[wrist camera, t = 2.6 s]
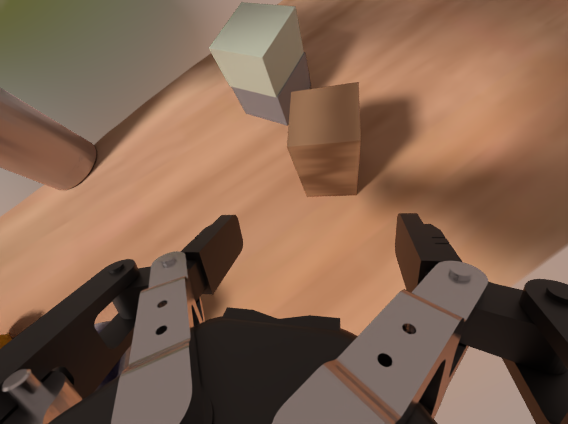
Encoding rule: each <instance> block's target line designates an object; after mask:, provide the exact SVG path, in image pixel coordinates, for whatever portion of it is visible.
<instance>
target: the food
mask: <svg viewBox="0 0 568 424" xmlns="http://www.w3.org/2000/svg"><path fill="white" fill-rule="evenodd" d="M11 340H12V338H11V336H10V334H9V333H8V334H5V335H0V349H1V348H2V347H3V346H5V345H6V344H7V343H8V342H10V341H11Z"/></svg>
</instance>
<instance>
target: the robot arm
mask: <svg viewBox="0 0 568 424" xmlns="http://www.w3.org/2000/svg"><path fill="white" fill-rule="evenodd" d="M95 159H96V149H95V147H94V145H93V144H92V143H90V142H89V141H87V140H86V139H84V138H82V137H81V136H79V135H77V134H76V133H74V132H72V131H71V130H69V129H67V128H66V127H64V126H63V125H61V124H59V123H58V122H56V121H54V120H53V119H51V118H49V117H48V116H46V115H45V114H43V113H41V112H40V111H38V110H36V109H34V108H33V107H31V106H30V105H28V104H26V103H25V102H23V101H21V100H20V99H18V98H17V97H15V96H13V95H12V94H10V93H9V92H7V91H5V90H4V89H2V88H0V168H3V169H5V170H8V171H11V172H13V173H16V174H19V175H21V176H24V177H26V178H29V179H32V180H34V181H37V182H39V183H42V184H45V185H47V186H50V187H53V188H55V189H58V190H66V189H70V188H72V187H74V186H76V185H77V184H79V183H80V182H81V181H82V180H83V179H84V178H85V177H86V176H87V175H88V174H89V172H90V171H91V169H92V167H93V165H94V162H95ZM242 248H243V239H242V234H241V230H240V226H239V221H238V218H237V216H236V215H221V216H220V217H219V218H218V219H217V220H216V221H215V222H214V223H213V224H212V225H210V226H208V227H206V228H205V229H204V230H202V231H201V232H200V233H199V235H197V236H196V237H195V239H193V240H192V241H191V242H190V243H189V244H188V245H187V246H186V247H185V248H184V249H183V250H182V251H181V252H171V253H167V254H165V255H162V256H161V257H159V258H157V259H156V260H155V261H154V262H153V263H152V265H151V267H145V268H139V269H138V268H137V265H136V263H135V261H134V260H131V259H126V260H121V261H118V262H115V263H113V264H111V265H109V266H107V267H106V268H104V269H103V270H102V271H100V272H99V273H98V274H96V275H95V276H94V277H93V278H91V279H90V280H89V281H87V282H86V283H85V284H83V285H82V286H81V287H80V288H78V289H77V290H76V291H74V292H73V293H72V294H71V295H69V296H68V297H67V298H65V299H64V300H63V301H61V302H60V303H59V304H58V305H56V306H55V307H54V308H52V309H51V310H50V311H49V312H47V313H46V314H45V315H43V316H42V317H41V318H39V319H38V320H37V321H36V322H34V323H33V324H32V325H30V326H29V327H28V328H27V329H25V330H24V331H23V332H21V333H20V334H19V335H17V336H16V337H15V338H14V339H12V340H11V341H10V342H8V343H7V344H6V345H5V346H3V347H2V348H1V349H0V424H437V422H436V421H435V420H434V418H435V416H436V414H437V411H438V409H439V407H440V405H441V402H442V400H443V397H444V394H445V392H446V390H447V387H448V385H449V383H450V381H451V380H452V378H453V376H454V374H455V372H456V370H457V368H458V366H459V364H460V362H461V361H462V359H463V357H464V355H465V353H466V351H467V349H468V347H469V346H470V347H473V348H476V349H479V350H482V351H484V352H487V353H490V354H493V355H496V356H499V357H501V358H502V359H503V361H504V363H505V365H506V367H507V369H508V370H509V372H510V374H511V376H512V378H513V380H514V382H515V384H516V386H517V388H518V390H519V392H520V394H521V395H522V398H523V399H524V401H525V403H526V405H527V407H528V409H529V411H530V413H531V415H532V416H533V419H534V421H535V422H536V424H568V285H567V284H564V283H561V282H557V281H553V280H546V279H534V280H530V281H528V282H527V283H526V284H525V287H524V289H523V290H519V289H515V288H511V287H506V286H502V285H498V284H494V283H491V282H488V278H487V276H486V275H485V274H484V273H483V272H482V271H481V270H479V269H478V268H476V267H474V266H472V265H469V264H466V263H463V262H462V261H461V259H460V258H459V256H458V255H457V253H456V252H455V250H454V249H453V248H452V246H451V245H450V244H449V242H448V240H447V239H446V238H445V236H444V235H443V233H442V232H441V230H439V229H438V228H436V227H435V226H433V225H431V224H423V222H422V221H421V219H420V217H419V216H418V214H417V213H402V214H398V217H397V227H396V239H395V253H396V257H397V261H398V264H399V267H400V270H401V273H402V277H403V280H404V283H405V286H406V290H405V289H404V290H402V291H400V292H399V293H398V294H397V295H396V296H395V298H394V299H393V300H392V301H391V302H390V303H389V304H388V305H387V306H386V307H385V308H384V309H383V310H382V311H381V312H380V313H379V315H378V316H377V317H376V318H375V319H374V320H373V321H372V322H371V323H370V324H369V325H368V326H367V327H366V328H365V329H364V330H363V332H362V333H361V334H360V335H359V336H356V335H354V334H353V333H350V332H348V331H346V330H343V329H341V328H340V318H331V317H321V316H310V315H309V316H301V317H292V318H284V319H277V318H274V317H271V316H268V315H265V314H263V313H260V312H257V311H254V310H248V309H238V308H228V307H227V309H226V311H225V313H224V315H223V316H222V317H217V318H213V319H210V320H207V321H205V318H204V312H203V306H202V301H201V299H200V296H201V295H202V294H212V295H213V294H214V292H215V290H216V289H217V287H218V286H219V284H220V283H221V281H222V280H223V278H224V277H225V275H226V274H227V272H228V271H229V269H230V268H231V266H232V265H233V263H234V262H235V260H236V259H237V257H238V255H239V254H240V252H241V251H242ZM111 302H113V304H114V305H115V307H116V309H117V311H118V312H119V313H118V314H117V315H116V316H115V317H114V318H113V319H112V320H111V321H110V322H109V324H108V325H107V326H106V327H105V328H104V329H103V330H102V331H101V332H100V333H99V334H98V332H97V330H96V329H95V326H94V322H95V319H96V317H97V315H98V314H99V313H100V312H101V311H102V310H103V309H104V308H105V307H106V306H107V305H109V304H110V303H111ZM131 344H132V346H131ZM130 346H131V352H130V358H129V364H128V366H127V368H126V369H124V370H123V371H122V373H121V375H119V376H118V377H116V378H115V379H113V380H112V381H110V382H109V383H107V384H106V385H104V386H103V387H101V388H100V389H98V390H96V389H97V387H98V386H99V385H100V384H101V382H102V381H103V380H104V379H105V377H106V376H107V375H108V374H109V372H110V371H111V370H112V368H113V367H114V366H115V365H116V363H117V362H118V361H119V360H120V358H121V357H122V356H123V355H124V353H125V352H126V351H127V349H128V348H129V347H130ZM95 390H96V391H95ZM94 391H95V392H94Z"/></svg>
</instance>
